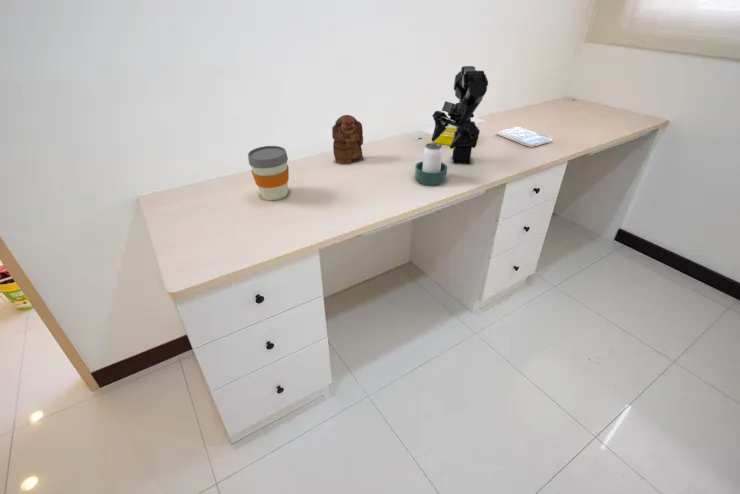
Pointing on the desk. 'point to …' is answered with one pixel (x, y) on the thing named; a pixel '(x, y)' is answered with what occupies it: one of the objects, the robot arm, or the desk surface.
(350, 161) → the wooden figurine
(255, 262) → the desk surface
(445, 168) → the bowl
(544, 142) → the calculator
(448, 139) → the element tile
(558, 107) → the desk surface
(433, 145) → the can
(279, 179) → the reusable coffee cup
